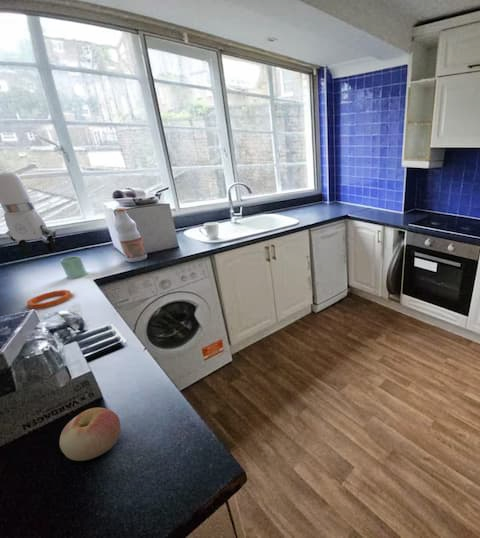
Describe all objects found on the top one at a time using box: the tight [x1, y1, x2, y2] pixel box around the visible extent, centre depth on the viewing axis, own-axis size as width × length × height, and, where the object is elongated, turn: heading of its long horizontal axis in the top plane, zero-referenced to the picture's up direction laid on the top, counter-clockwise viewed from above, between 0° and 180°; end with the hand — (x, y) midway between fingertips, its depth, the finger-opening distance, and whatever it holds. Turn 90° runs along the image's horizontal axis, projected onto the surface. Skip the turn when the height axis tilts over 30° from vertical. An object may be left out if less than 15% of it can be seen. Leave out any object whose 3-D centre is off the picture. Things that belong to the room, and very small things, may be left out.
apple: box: [59, 406, 121, 462], centre depth 58 cm, size 9×9×8 cm
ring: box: [26, 289, 73, 310], centre depth 118 cm, size 12×12×2 cm
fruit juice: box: [113, 207, 148, 263], centre depth 156 cm, size 9×9×28 cm
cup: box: [59, 255, 88, 280], centre depth 140 cm, size 7×7×9 cm
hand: (40, 252), depth 113 cm, fingers open, 9 cm apart
